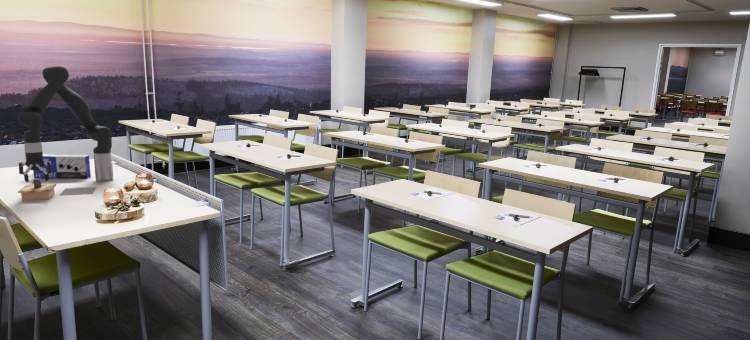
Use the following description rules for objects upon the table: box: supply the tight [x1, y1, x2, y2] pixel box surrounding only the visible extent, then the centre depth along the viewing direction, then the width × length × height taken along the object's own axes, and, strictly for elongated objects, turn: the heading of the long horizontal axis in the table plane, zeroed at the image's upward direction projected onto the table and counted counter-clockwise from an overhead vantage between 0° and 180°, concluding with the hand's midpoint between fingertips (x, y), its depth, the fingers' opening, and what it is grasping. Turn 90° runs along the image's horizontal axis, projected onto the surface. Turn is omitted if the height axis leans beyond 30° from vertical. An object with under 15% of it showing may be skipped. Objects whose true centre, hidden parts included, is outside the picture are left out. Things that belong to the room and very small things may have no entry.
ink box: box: [32, 154, 92, 180], centre depth 310 cm, size 30×7×14 cm, turn 98°
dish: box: [20, 187, 55, 203], centre depth 264 cm, size 12×12×5 cm
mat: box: [58, 186, 98, 197], centre depth 279 cm, size 16×16×1 cm
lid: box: [17, 178, 57, 194], centre depth 263 cm, size 14×14×6 cm
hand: (37, 181), depth 263 cm, fingers open, 8 cm apart
